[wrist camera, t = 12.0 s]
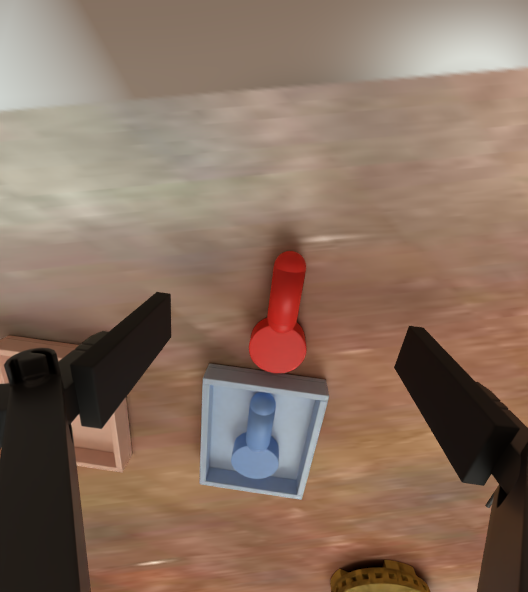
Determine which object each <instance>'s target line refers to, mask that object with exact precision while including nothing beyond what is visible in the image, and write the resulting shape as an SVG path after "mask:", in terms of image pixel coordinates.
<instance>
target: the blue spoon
mask: <svg viewBox="0 0 528 592" xmlns="http://www.w3.org/2000/svg"><path fill="white" fill-rule="evenodd" d="M275 409H276V402H275V399H274V397H273V396H272V395H271V394H270V393H265V392H258V393H256V394H255V395H254V396H253V397H252V399H251V401H250V407H249V416H248V424H247V432H245V433H243V434H241V435H239V436H238V437H237V438H236V440H235V442H234V447H233V452H232V457H231V463H232V466H233V468H234V469H235V470H236V471H237V472H238V473H240V474H241V475H243V476H245V477H248V478H254V479H262V478H266V477H269V476H271V475H273V474H274V473H275V472H276V471H277V469H278V466H279V446H278V443H277V441H276V440H275V439H274V438H273V437H272V436H271V433H272V427H273V421H274V415H275Z"/></svg>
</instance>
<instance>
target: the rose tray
mask: <svg viewBox="0 0 528 592" xmlns="http://www.w3.org/2000/svg"><path fill="white" fill-rule="evenodd" d="M77 346H79V345H75V344H68V343H61V342H54V341H47V340H40V339H33V338H25V337H18V336H11V335H8V336H7V337H5V338H3V339H1V340H0V384H5V383H9V381H8V377H7V374H6V371H5V368H4V364H5V362H6V360H8V359H9V358H10V357H12V356H13V355H15V354H17V353H20V352H22V351H25V350H29V349H34V348H50V349H53V350H55V352H56V353H57V357H58V361H59V360H61V359H62V358H63V357H65V356H66V355H67V354H68V353H70V352H71V351H72V350H75V348H76V347H77ZM71 425H72V430H73V438H74V447H75V456H76V465H77V466H83V467H90V468H97V469H103V470H110V471H116V472H123V470H124V468H125V467H126V465H127V463H128V461H129V459H130V458H131V456H132V447H131V437H130V428H129V419H128V410H127V401H126V398H125V399H124V400H123V402H122V403H121V404H120V406H119V407H118V408H117V410H116V411H115V412H114V414H113V415H112V416H111V417H110V419H109V420H108V421H107V423H106V424H105V425H104V427H103V428H102V429H97V428H91V427H84V426H81V421H80V416H79V415H78V416H77V417H76V418H75V419H74V420H73V422H72V423H71Z"/></svg>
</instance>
